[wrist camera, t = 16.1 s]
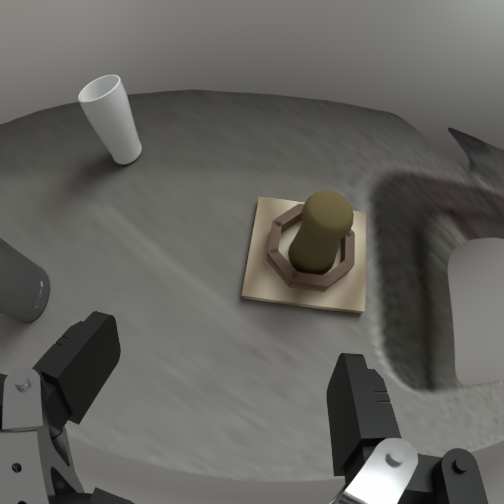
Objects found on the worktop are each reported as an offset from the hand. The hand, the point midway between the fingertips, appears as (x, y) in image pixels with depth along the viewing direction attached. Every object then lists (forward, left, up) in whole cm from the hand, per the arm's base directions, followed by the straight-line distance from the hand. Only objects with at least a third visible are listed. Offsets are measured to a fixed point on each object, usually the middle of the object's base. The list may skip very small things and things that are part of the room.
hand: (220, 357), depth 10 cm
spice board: (+6, +16, -25) cm, 30 cm away
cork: (+6, +15, -24) cm, 29 cm away
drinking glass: (-25, +30, -25) cm, 46 cm away
